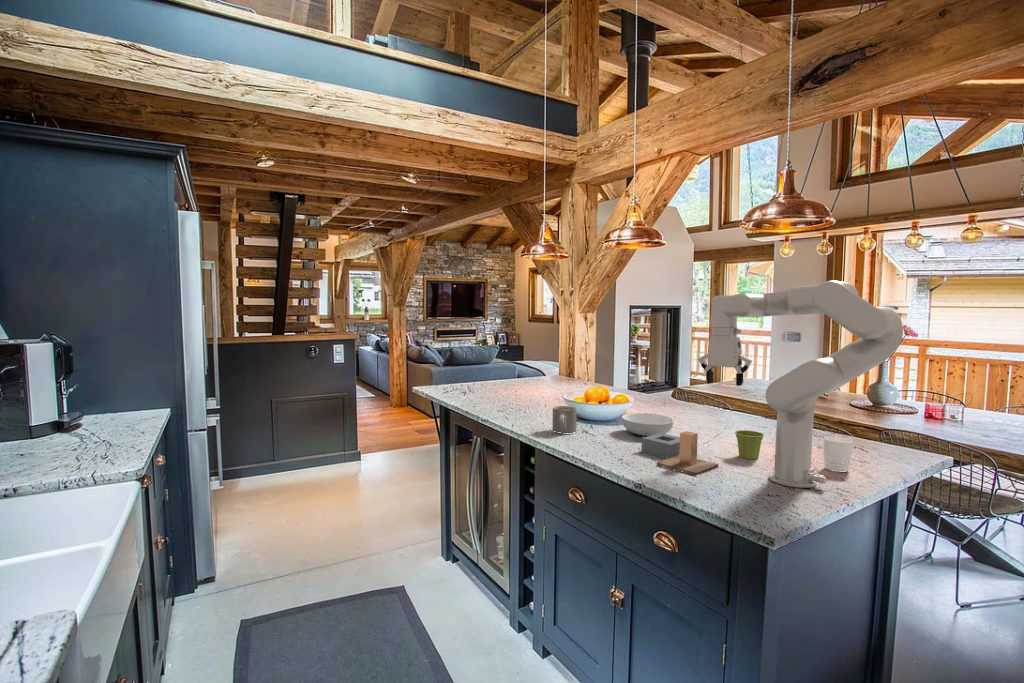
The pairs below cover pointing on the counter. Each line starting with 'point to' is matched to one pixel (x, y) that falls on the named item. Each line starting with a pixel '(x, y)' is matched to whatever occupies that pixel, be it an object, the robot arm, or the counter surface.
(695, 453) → the copper peg
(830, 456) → the white cup
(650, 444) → the socket block
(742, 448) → the plant pot
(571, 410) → the coffee mug
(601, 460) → the counter surface
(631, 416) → the serving bowl
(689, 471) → the walnut mat
